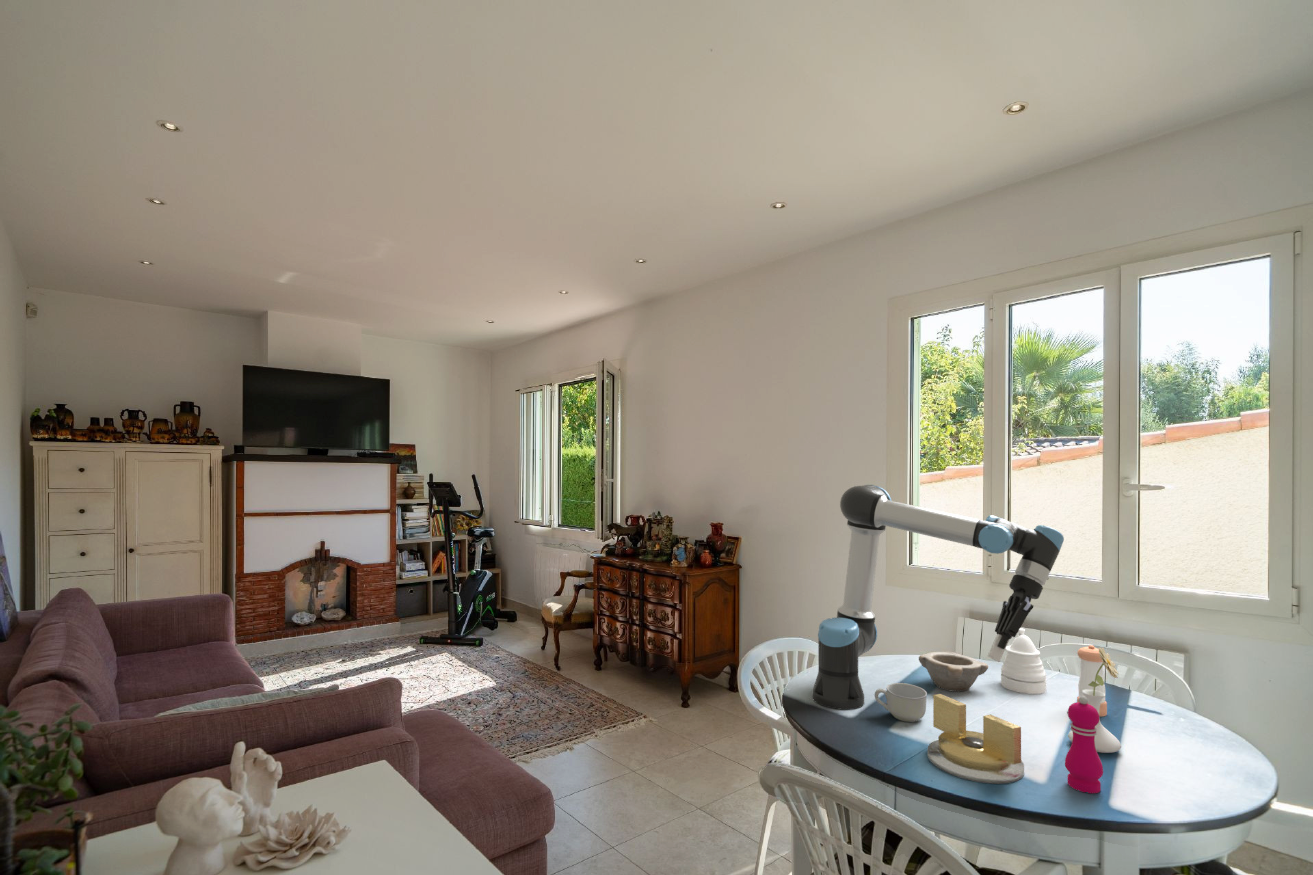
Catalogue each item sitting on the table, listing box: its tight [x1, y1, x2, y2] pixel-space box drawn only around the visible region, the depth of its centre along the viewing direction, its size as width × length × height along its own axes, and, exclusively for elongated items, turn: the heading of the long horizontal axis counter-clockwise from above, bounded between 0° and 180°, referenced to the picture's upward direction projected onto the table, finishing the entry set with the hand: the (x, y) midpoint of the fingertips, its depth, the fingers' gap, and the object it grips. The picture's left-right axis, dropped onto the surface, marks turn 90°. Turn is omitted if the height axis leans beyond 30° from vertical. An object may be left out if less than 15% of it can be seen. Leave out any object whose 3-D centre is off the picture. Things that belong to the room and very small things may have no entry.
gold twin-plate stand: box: [932, 693, 1022, 770], centre depth 162 cm, size 18×17×10 cm
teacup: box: [874, 682, 928, 723], centre depth 190 cm, size 14×11×8 cm
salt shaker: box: [1076, 644, 1108, 717], centre depth 196 cm, size 7×7×19 cm
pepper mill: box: [1064, 696, 1104, 794], centre depth 151 cm, size 7×7×20 cm
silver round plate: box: [927, 739, 1025, 785], centre depth 162 cm, size 21×21×2 cm
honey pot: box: [1000, 627, 1047, 695], centre depth 217 cm, size 13×13×18 cm
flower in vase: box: [1067, 647, 1122, 754], centre depth 172 cm, size 13×11×25 cm
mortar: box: [918, 651, 989, 692], centre depth 216 cm, size 17×17×9 cm
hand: (993, 658), depth 178 cm, fingers closed
